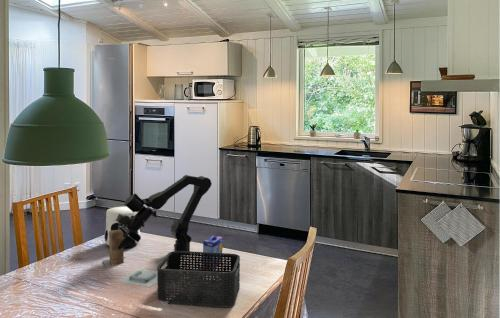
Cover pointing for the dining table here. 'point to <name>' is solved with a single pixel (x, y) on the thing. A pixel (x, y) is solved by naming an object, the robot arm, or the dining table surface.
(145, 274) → the pocket board
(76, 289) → the dining table surface
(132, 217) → the robot arm
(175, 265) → the storage bin
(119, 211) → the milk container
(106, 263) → the slate coaster
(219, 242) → the ink cartridge box
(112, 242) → the walnut block
